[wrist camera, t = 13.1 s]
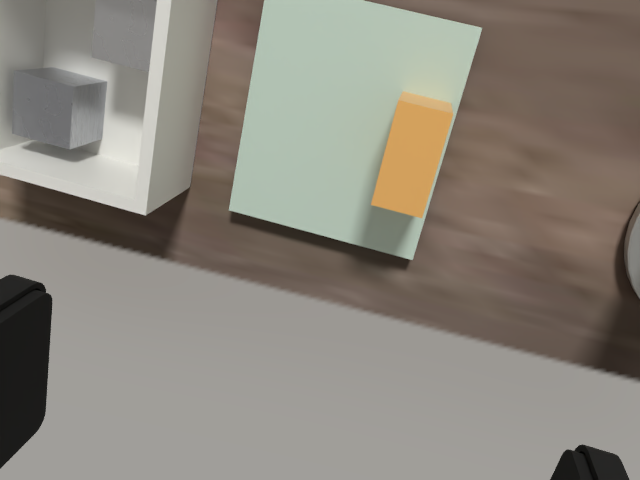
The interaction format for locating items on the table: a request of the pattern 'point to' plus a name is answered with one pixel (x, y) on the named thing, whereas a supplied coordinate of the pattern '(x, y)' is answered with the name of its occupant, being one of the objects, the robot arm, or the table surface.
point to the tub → (111, 102)
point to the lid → (350, 119)
